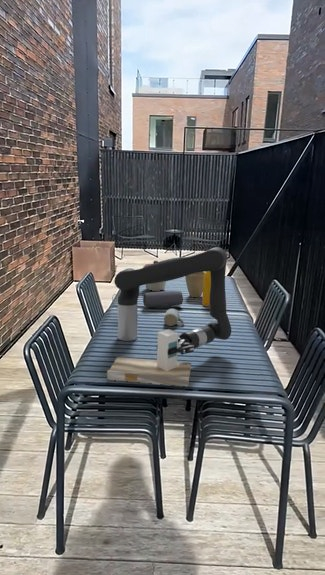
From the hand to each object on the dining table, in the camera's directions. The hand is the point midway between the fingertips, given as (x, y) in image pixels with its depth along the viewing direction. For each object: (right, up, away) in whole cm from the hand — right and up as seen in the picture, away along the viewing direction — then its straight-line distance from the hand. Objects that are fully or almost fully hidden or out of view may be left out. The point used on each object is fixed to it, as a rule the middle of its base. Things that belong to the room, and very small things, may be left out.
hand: (162, 349), depth 147 cm
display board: (-5, -10, +3) cm, 11 cm away
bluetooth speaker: (0, +11, +89) cm, 89 cm away
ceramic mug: (+6, +4, +59) cm, 60 cm away
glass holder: (-21, +7, +69) cm, 72 cm away
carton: (+2, -7, +4) cm, 8 cm away
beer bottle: (+29, +13, +97) cm, 102 cm away
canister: (-5, +22, +130) cm, 132 cm away
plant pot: (+22, +17, +115) cm, 119 cm away
